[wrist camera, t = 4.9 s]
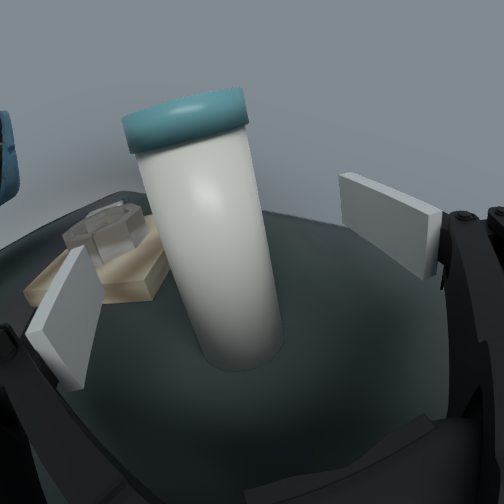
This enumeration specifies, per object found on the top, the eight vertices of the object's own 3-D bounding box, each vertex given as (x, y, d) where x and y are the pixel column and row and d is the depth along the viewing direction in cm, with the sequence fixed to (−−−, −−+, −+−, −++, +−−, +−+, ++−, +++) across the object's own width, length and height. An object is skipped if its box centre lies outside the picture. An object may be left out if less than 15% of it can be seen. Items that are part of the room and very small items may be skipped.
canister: (191, 374, 16) (98, 125, 10) (208, 315, 21) (150, 113, 15) (287, 371, 16) (232, 85, 9) (287, 308, 20) (248, 89, 14)
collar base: (31, 307, 27) (10, 267, 24) (95, 239, 41) (84, 208, 38) (152, 300, 24) (130, 246, 22) (197, 221, 38) (187, 183, 36)
